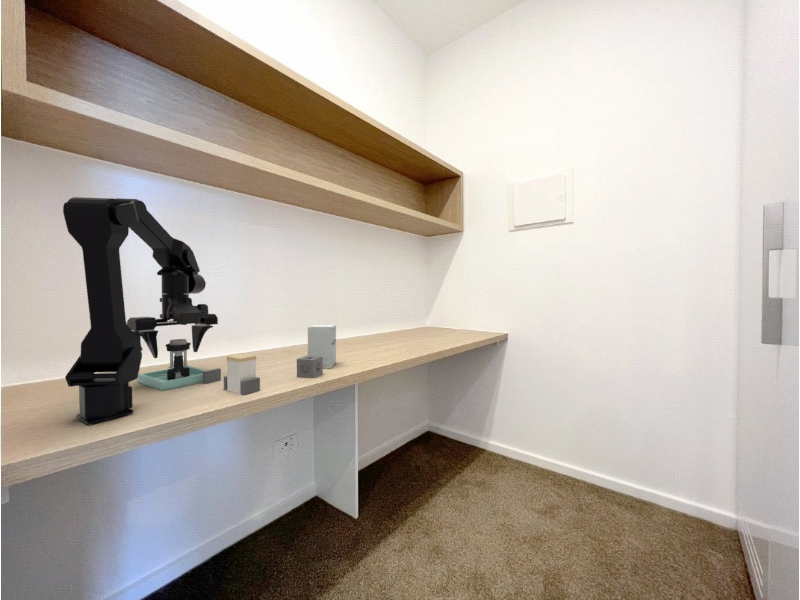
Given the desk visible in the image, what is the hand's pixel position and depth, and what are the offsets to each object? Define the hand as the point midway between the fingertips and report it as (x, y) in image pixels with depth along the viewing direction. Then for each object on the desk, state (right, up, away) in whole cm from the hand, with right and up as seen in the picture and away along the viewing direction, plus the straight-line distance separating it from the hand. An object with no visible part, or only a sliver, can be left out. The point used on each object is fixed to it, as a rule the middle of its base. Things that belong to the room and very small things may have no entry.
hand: (176, 354), depth 84 cm
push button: (0, -6, 0) cm, 6 cm away
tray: (0, -7, 0) cm, 7 cm away
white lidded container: (+20, -7, -7) cm, 23 cm away
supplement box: (+33, -7, +18) cm, 38 cm away
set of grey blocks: (+16, -7, -5) cm, 18 cm away
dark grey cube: (+33, -7, +6) cm, 34 cm away
